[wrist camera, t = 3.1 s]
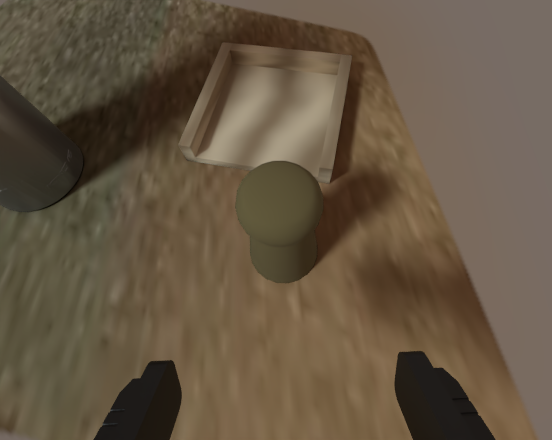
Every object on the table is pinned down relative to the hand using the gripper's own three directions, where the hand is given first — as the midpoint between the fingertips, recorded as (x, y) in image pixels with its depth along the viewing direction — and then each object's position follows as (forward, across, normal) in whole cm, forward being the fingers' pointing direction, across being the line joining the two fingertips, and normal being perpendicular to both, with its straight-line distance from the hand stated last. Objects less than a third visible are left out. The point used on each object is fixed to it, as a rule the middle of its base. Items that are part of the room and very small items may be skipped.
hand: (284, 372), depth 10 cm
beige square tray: (+26, 0, -8) cm, 27 cm away
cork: (+15, 0, +3) cm, 16 cm away
